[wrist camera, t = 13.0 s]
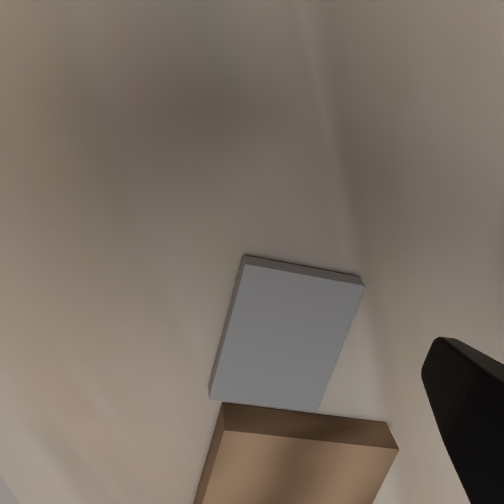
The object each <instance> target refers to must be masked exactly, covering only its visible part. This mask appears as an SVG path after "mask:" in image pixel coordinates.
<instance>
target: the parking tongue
mask: <svg viewBox="0 0 504 504" xmlns="http://www.w3.org/2000/svg"><path fill="white" fill-rule="evenodd" d="M365 287H366V286H365V284H364V283H363V282H362V280H361V279H360V277H358V276H353V275H348V274H342V273H337V272H332V271H326V270H321V269H316V268H310V267H305V266H300V265H294V264H289V263H284V262H278V261H273V260H268V259H262V258H257V257H252V256H246V255H243V259H242V262H241V266H240V270H239V274H238V277H237V281H236V285H235V289H234V292H233V296H232V300H231V304H230V307H229V311H228V315H227V319H226V322H225V326H224V330H223V334H222V337H221V341H220V345H219V349H218V352H217V356H216V360H215V364H214V367H213V371H212V375H211V379H210V382H209V386H208V388H209V399H210V400H218V401H226V402H235V403H243V404H251V405H259V406H267V407H275V408H284V409H292V410H300V411H308V412H317V410H318V407H319V404H320V402H321V399H322V397H323V394H324V392H325V389H326V387H327V384H328V381H329V379H330V376H331V374H332V371H333V369H334V366H335V363H336V361H337V358H338V356H339V353H340V351H341V348H342V346H343V343H344V340H345V338H346V335H347V333H348V330H349V328H350V325H351V322H352V320H353V317H354V315H355V312H356V310H357V307H358V304H359V302H360V299H361V297H362V294H363V292H364V289H365Z"/></svg>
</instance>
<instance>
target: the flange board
mask: <svg viewBox="0 0 504 504" xmlns="http://www.w3.org/2000/svg"><path fill="white" fill-rule="evenodd" d="M398 451H399V448H398V446H397V444H396V442H395V440H394V438H393V436H392V434H391V432H390V430H389V428H388V426H387V424H386V423H384V422H376V421H368V420H360V419H351V418H343V417H335V416H327V415H318V414H310V413H302V412H294V411H286V410H277V409H269V408H261V407H253V406H245V405H236V404H228V403H222V406H221V409H220V413H219V416H218V420H217V423H216V427H215V430H214V434H213V437H212V441H211V444H210V448H209V451H208V455H207V458H206V462H205V465H204V469H203V472H202V476H201V479H200V483H199V486H198V490H197V493H196V497H195V500H194V504H372V503H373V501H374V499H375V497H376V495H377V493H378V491H379V489H380V487H381V485H382V483H383V481H384V479H385V477H386V475H387V473H388V471H389V469H390V467H391V465H392V463H393V461H394V459H395V457H396V455H397V453H398Z"/></svg>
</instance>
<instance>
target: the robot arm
mask: <svg viewBox="0 0 504 504" xmlns="http://www.w3.org/2000/svg"><path fill="white" fill-rule="evenodd" d="M421 376H422V381H423V384H424V387H425V390H426V393H427V396H428V399H429V402H430V405H431V408H432V411H433V414H434V417H435V420H436V423H437V425H438V428H439V431H440V434H441V437H442V440H443V442H444V445H445V447H446V449H447V452H448V454H449V456H450V459H451V461H452V463H453V465H454V468H455V470H456V472H457V474H458V476H459V479H460V481H461V483H462V485H463V488H464V490H465V492H466V494H467V496H468V499H469V501H470V503H471V504H504V364H502V363H500V362H498V361H496V360H494V359H493V358H491V357H489V356H487V355H485V354H483V353H482V352H480V351H478V350H476V349H474V348H472V347H471V346H469V345H467V344H465V343H463V342H461V341H459V340H457V339H454V338H447V337H438V338H436V339H435V340H434V341H433V343H432V345H431V347H430V350H429V352H428V354H427V357H426V359H425V361H424V364H423V366H422V370H421Z"/></svg>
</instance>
